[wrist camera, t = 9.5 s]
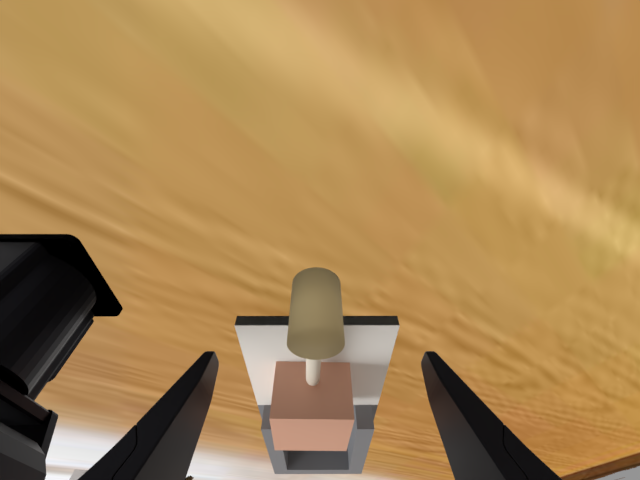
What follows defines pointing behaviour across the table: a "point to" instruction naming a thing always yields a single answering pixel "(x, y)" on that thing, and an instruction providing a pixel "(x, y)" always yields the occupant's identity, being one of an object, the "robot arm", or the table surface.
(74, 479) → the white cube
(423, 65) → the table surface
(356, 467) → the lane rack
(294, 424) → the toy joystick
